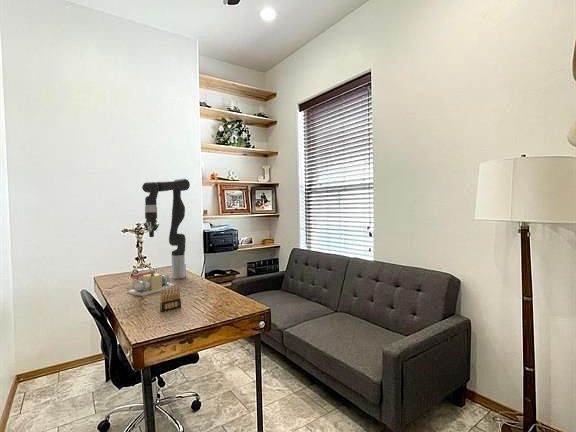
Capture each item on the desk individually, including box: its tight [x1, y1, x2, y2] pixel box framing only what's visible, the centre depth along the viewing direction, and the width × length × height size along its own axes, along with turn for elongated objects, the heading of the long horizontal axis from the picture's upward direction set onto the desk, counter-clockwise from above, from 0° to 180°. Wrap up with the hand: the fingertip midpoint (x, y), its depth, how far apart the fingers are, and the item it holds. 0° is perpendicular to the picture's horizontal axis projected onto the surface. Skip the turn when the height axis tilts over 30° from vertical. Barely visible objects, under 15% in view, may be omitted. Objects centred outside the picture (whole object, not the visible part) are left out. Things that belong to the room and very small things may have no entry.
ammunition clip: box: [159, 285, 182, 313], centre depth 167 cm, size 11×2×12 cm, turn 135°
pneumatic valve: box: [132, 266, 153, 282], centre depth 220 cm, size 6×12×12 cm, turn 131°
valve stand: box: [126, 272, 177, 297], centre depth 207 cm, size 26×14×11 cm, turn 152°
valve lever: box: [132, 269, 156, 279], centre depth 201 cm, size 16×3×2 cm, turn 157°
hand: (151, 237), depth 217 cm, fingers closed
